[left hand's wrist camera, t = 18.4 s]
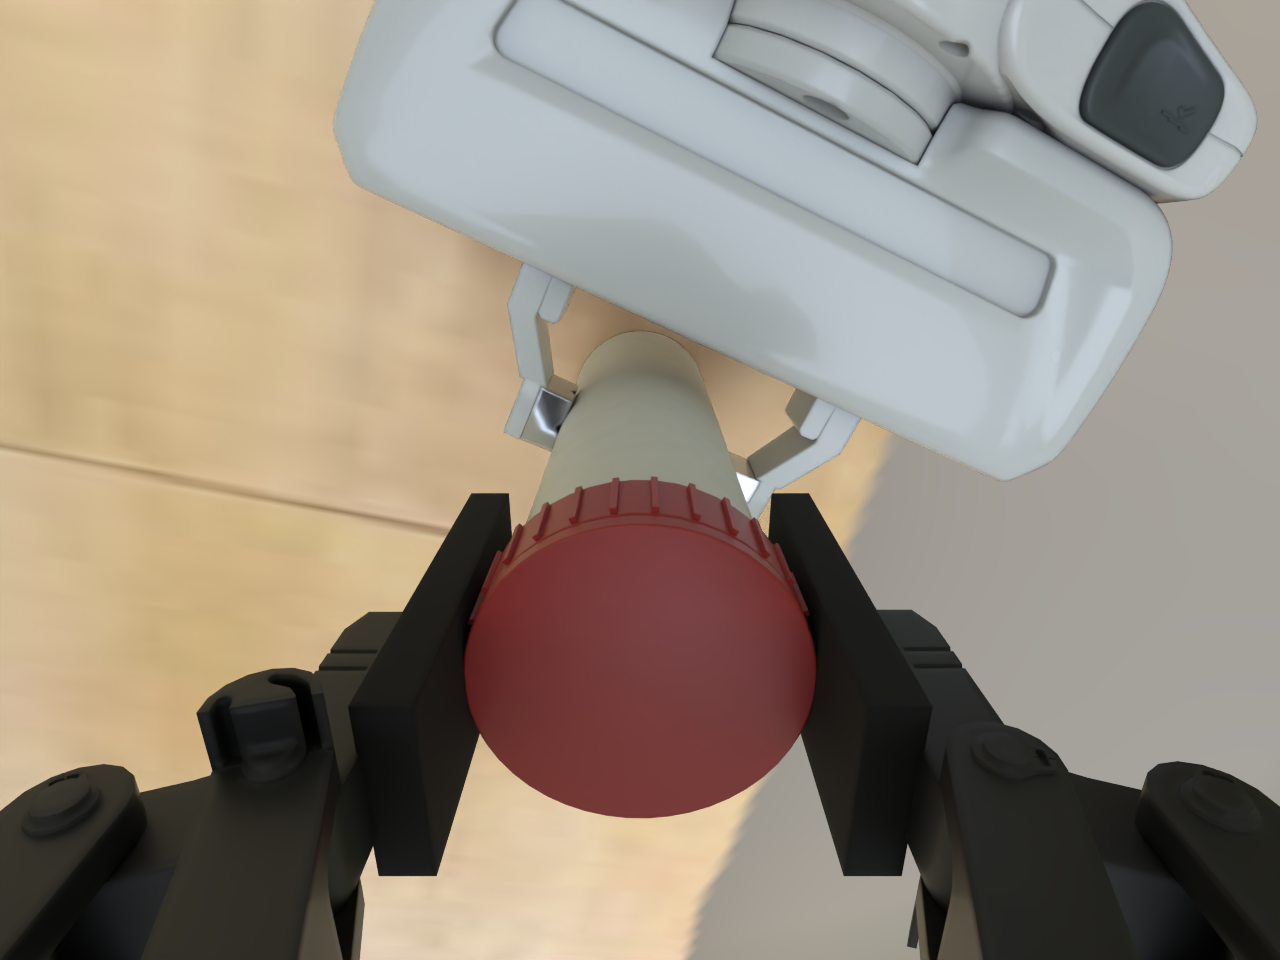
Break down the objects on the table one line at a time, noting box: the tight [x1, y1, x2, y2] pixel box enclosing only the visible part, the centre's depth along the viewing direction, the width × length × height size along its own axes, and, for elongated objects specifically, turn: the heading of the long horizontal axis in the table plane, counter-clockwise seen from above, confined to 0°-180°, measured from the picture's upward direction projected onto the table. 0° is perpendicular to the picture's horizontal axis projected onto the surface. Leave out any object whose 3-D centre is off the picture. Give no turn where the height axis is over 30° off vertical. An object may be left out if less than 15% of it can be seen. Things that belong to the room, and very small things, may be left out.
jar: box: [526, 331, 752, 523], centre depth 19 cm, size 5×5×17 cm
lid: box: [464, 476, 817, 818], centre depth 12 cm, size 6×6×2 cm
